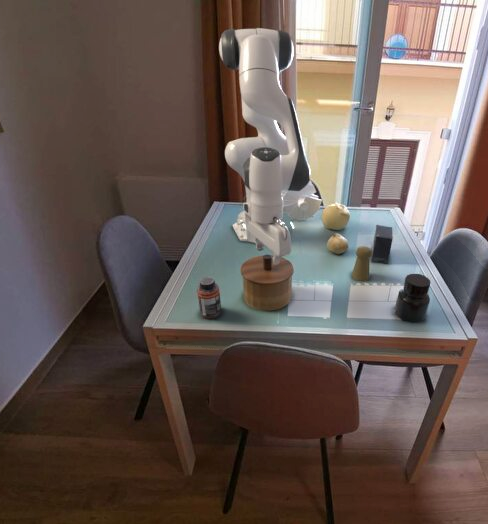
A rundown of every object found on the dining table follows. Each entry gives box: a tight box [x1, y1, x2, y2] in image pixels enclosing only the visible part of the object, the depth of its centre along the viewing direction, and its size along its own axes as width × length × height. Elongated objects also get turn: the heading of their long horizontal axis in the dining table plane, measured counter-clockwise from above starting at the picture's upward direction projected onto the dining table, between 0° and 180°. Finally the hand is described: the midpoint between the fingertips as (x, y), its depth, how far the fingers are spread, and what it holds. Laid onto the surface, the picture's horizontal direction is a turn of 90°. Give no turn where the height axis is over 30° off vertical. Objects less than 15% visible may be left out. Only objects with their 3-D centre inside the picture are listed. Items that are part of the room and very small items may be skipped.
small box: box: [370, 224, 394, 264], centre depth 133 cm, size 11×6×10 cm, turn 168°
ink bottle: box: [394, 272, 432, 323], centre depth 103 cm, size 10×9×12 cm
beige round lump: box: [321, 202, 351, 231], centre depth 154 cm, size 11×12×11 cm
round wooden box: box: [242, 276, 293, 312], centre depth 108 cm, size 15×15×10 cm
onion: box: [326, 233, 349, 255], centre depth 136 cm, size 8×8×7 cm
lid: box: [239, 254, 295, 285], centre depth 105 cm, size 16×16×5 cm
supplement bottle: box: [196, 276, 222, 319], centre depth 100 cm, size 6×6×11 cm
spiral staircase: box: [282, 180, 323, 221], centre depth 165 cm, size 18×18×25 cm
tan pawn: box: [351, 245, 372, 282], centre depth 120 cm, size 6×6×11 cm
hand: (267, 256), depth 103 cm, fingers open, 8 cm apart
